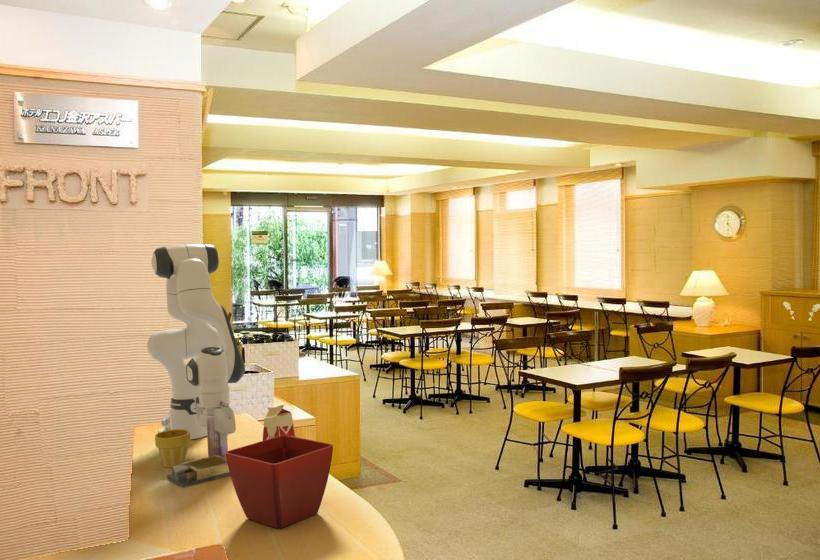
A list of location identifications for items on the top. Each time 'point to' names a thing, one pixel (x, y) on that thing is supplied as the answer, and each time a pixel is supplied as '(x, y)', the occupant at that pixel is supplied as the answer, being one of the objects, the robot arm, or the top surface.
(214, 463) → the grey and tan tray
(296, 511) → the plant pot
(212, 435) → the beverage can
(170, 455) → the plant pot
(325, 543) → the top surface
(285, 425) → the milk carton
